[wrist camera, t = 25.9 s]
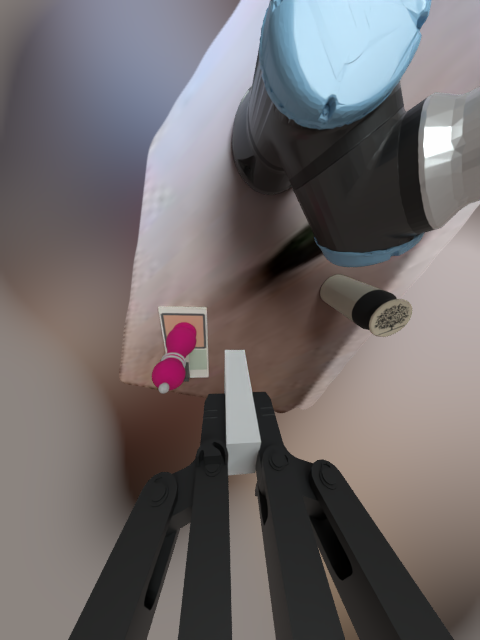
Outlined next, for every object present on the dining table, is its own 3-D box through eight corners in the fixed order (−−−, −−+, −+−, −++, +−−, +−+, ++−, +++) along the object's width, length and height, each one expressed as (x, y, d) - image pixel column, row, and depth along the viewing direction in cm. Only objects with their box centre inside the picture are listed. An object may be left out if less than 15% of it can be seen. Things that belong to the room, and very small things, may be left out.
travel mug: (319, 278, 45) (371, 305, 29) (349, 270, 45) (419, 293, 29) (320, 306, 49) (367, 342, 33) (348, 298, 49) (409, 332, 33)
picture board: (206, 307, 46) (205, 312, 43) (208, 374, 57) (208, 382, 54) (159, 306, 45) (155, 311, 42) (170, 375, 56) (167, 383, 53)
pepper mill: (181, 346, 50) (158, 411, 32) (165, 327, 46) (130, 386, 29) (203, 336, 49) (192, 396, 31) (189, 315, 46) (167, 370, 28)
